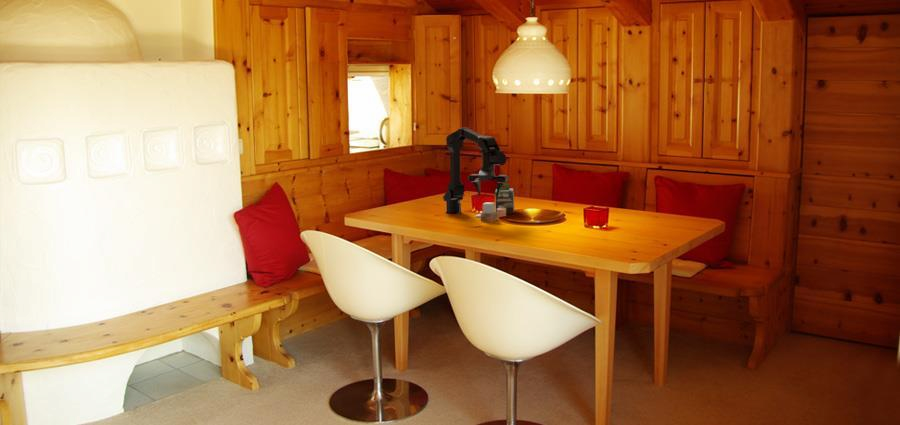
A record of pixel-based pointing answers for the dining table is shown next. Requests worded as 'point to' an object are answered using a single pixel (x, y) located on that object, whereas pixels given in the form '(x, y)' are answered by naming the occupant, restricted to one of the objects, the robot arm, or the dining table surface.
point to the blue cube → (488, 207)
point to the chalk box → (505, 199)
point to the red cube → (501, 212)
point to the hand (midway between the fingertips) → (488, 196)
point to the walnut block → (489, 217)
